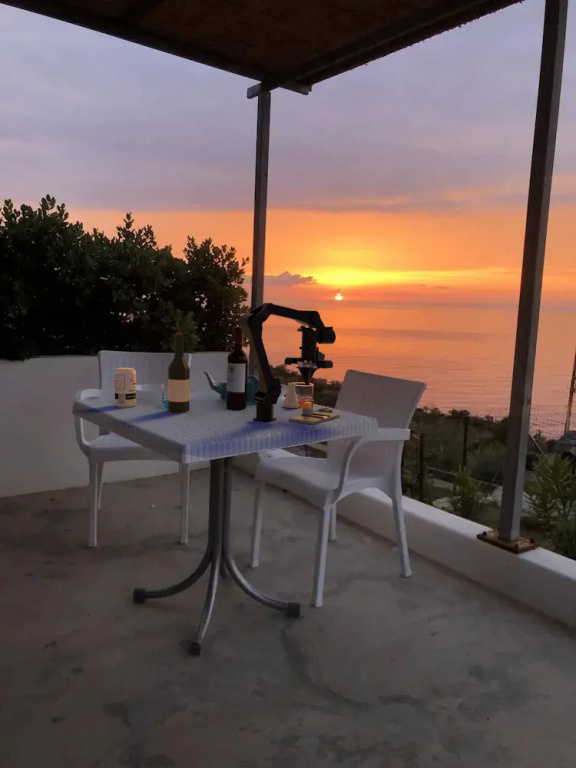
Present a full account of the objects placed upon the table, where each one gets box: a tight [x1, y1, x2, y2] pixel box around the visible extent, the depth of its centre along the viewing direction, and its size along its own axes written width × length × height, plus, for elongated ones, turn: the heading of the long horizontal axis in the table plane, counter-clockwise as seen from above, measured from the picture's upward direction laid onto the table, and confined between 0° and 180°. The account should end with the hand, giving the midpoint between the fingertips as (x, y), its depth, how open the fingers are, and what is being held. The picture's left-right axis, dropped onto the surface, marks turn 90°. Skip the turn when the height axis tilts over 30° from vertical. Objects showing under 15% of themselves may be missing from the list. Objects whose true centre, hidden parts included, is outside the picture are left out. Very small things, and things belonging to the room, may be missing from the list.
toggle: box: [301, 401, 314, 415], centre depth 223 cm, size 3×3×4 cm
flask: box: [281, 382, 300, 409], centre depth 245 cm, size 7×7×10 cm
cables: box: [313, 406, 333, 413], centre depth 234 cm, size 9×4×2 cm, turn 147°
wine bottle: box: [167, 332, 191, 414], centre depth 227 cm, size 8×8×30 cm
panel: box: [288, 410, 340, 425], centre depth 221 cm, size 20×10×2 cm, turn 147°
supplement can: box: [113, 366, 137, 408], centre depth 235 cm, size 8×8×15 cm
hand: (307, 385), depth 224 cm, fingers closed
